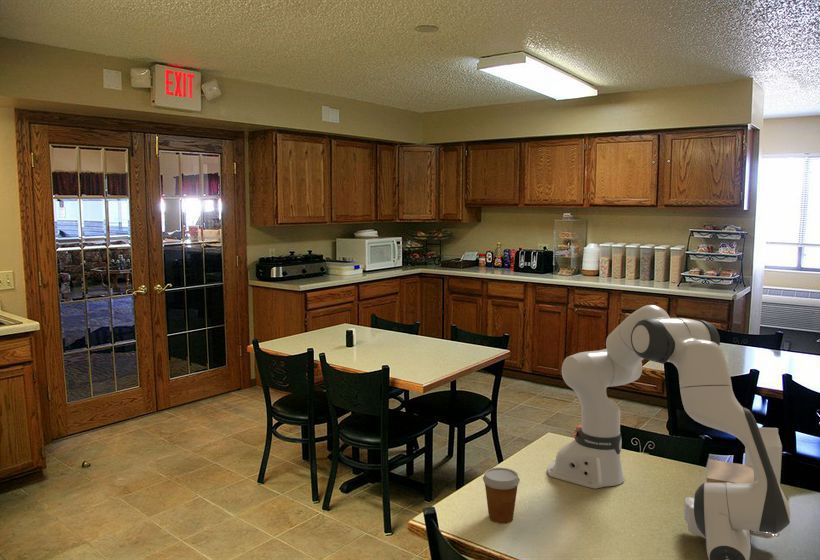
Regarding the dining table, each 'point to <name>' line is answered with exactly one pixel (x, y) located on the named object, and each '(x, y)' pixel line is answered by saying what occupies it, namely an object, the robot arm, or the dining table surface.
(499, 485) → the disposable coffee cup
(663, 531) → the dining table surface
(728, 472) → the walnut cubby
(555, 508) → the dining table surface
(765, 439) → the milk carton
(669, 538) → the dining table surface
